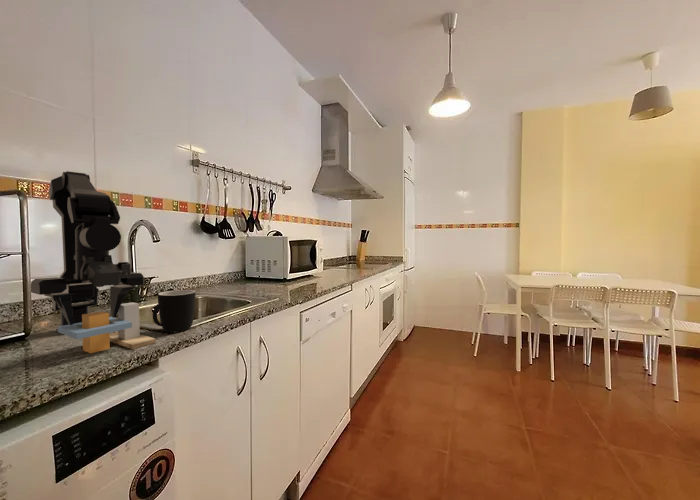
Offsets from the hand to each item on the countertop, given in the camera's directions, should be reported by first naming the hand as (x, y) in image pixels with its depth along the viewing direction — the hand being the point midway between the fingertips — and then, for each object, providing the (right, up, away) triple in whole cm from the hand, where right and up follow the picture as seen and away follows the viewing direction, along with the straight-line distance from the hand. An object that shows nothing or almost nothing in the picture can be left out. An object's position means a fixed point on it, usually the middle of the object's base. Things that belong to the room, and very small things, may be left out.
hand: (93, 320), depth 70 cm
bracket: (+1, -5, +2) cm, 6 cm away
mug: (+9, -6, +15) cm, 19 cm away
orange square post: (0, -7, +1) cm, 7 cm away
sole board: (+4, -6, +6) cm, 10 cm away
